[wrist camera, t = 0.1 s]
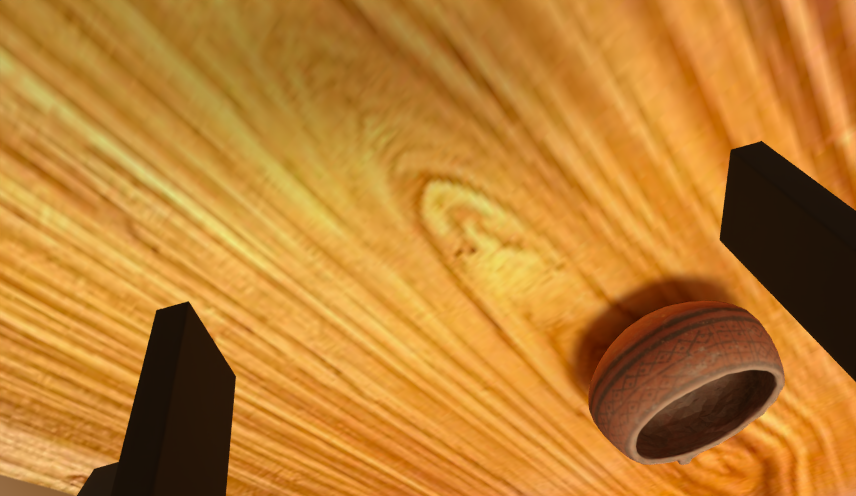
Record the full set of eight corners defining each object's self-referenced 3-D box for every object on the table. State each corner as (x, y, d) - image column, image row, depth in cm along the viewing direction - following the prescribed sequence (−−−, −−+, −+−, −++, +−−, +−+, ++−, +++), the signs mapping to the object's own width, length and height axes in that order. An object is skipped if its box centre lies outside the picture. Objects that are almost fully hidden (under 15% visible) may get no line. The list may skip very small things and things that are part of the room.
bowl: (630, 413, 62) (680, 504, 54) (531, 356, 54) (573, 453, 46) (762, 317, 56) (839, 403, 49) (675, 237, 48) (751, 324, 40)
